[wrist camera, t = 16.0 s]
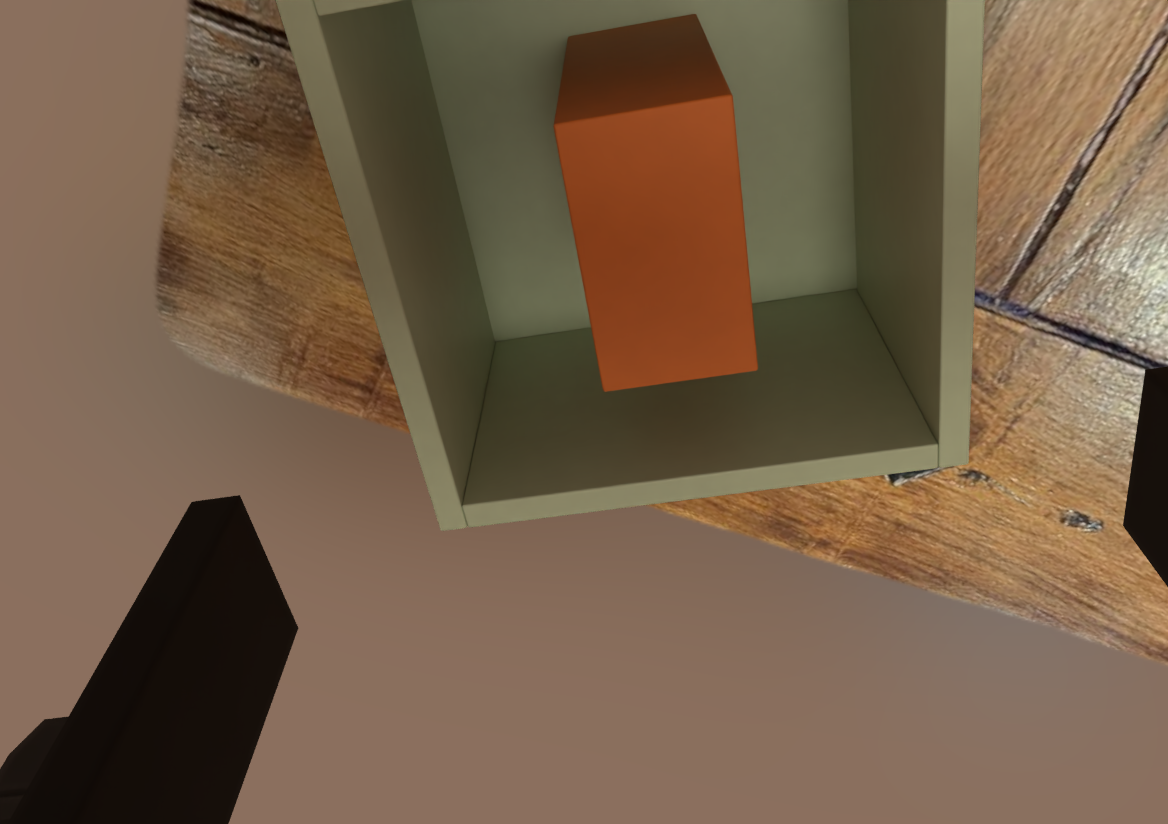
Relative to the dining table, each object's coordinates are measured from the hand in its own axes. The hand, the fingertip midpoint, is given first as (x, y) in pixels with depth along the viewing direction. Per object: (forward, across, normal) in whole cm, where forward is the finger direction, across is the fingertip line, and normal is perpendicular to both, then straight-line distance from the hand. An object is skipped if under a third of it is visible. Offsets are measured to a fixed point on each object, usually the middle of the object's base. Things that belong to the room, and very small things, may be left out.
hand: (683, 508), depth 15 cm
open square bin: (+21, 0, 0) cm, 21 cm away
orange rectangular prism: (+20, 0, 0) cm, 20 cm away
